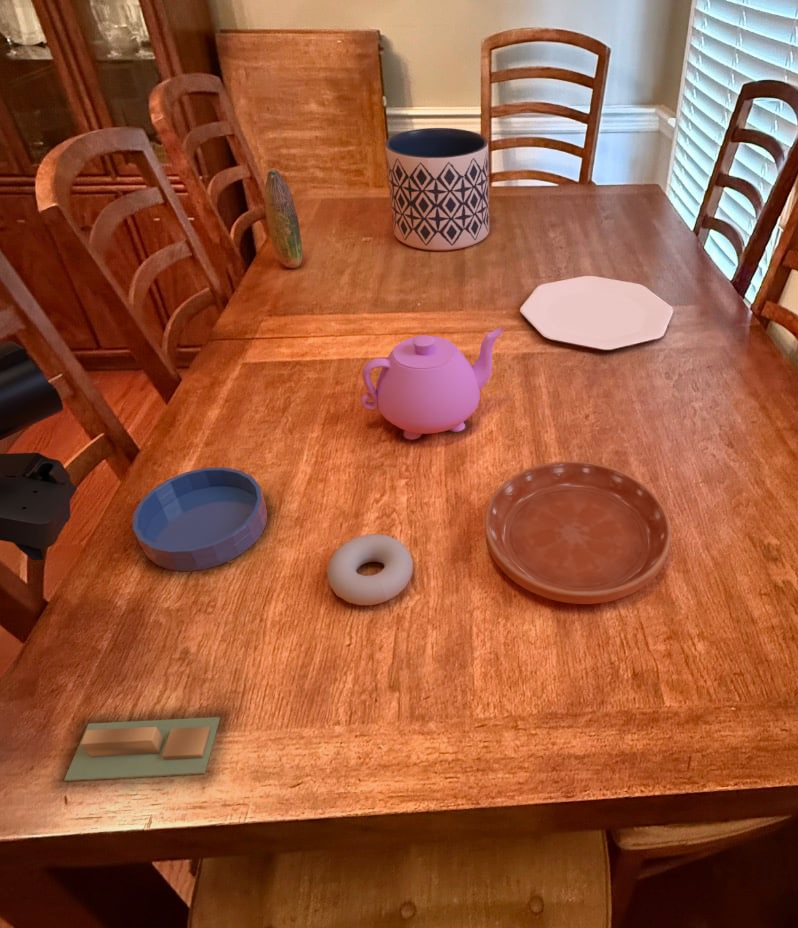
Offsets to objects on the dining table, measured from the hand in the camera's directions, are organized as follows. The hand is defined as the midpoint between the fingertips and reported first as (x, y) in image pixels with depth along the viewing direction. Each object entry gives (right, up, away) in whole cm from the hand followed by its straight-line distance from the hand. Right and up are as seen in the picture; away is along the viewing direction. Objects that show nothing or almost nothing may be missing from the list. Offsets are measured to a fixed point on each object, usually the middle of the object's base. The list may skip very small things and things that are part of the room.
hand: (16, 595), depth 65 cm
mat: (+12, -15, +1) cm, 19 cm away
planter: (+30, +67, +98) cm, 123 cm away
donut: (+30, -1, +18) cm, 35 cm away
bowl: (+7, +4, +24) cm, 25 cm away
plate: (+63, +41, +68) cm, 101 cm away
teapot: (+35, +20, +43) cm, 58 cm away
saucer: (+55, +3, +23) cm, 59 cm away
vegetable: (-1, +55, +84) cm, 100 cm away
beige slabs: (+12, -15, +1) cm, 19 cm away
